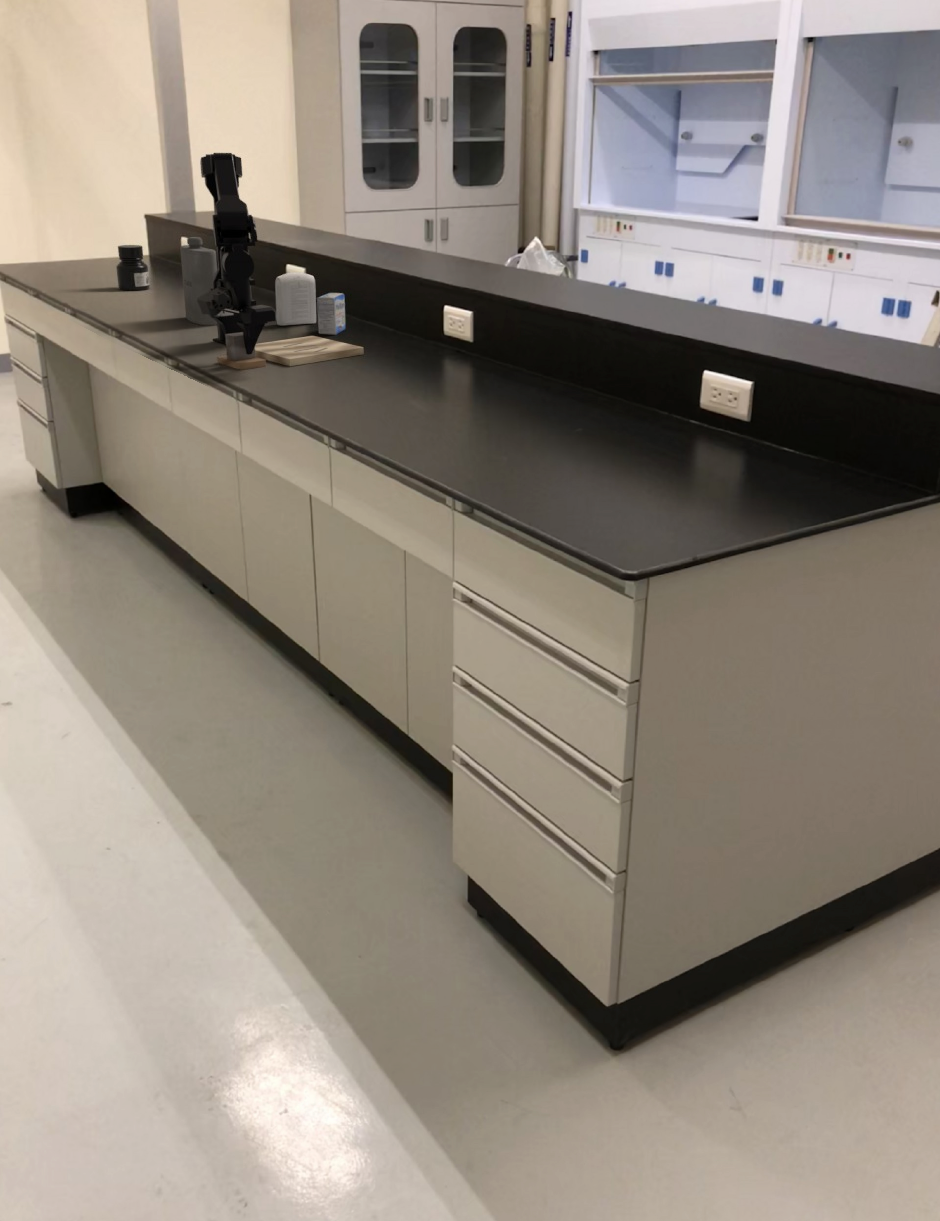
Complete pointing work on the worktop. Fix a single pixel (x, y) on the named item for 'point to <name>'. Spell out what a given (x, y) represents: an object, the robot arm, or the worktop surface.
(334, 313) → the medicine box
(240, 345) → the block
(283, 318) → the white rectangular bottle
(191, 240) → the flask
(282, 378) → the worktop surface
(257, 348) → the sanding board
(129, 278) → the ink bottle
